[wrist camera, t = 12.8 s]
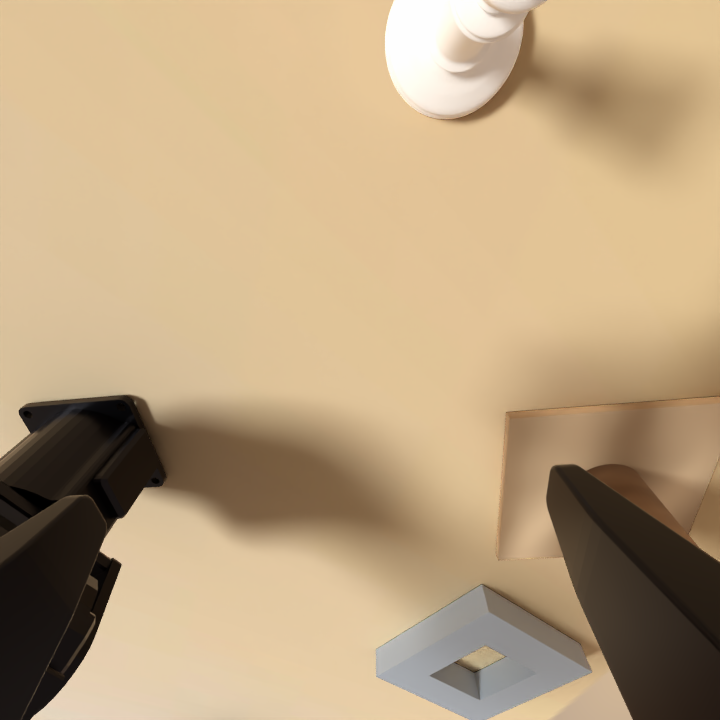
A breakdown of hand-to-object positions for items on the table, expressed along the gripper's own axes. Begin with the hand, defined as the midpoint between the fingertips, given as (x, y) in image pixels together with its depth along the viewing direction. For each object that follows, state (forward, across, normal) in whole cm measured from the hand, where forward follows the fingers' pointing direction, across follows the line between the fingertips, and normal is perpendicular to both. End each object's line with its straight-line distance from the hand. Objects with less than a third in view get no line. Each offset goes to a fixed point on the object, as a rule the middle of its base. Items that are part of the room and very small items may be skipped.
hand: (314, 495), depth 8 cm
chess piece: (+13, -5, -9) cm, 17 cm away
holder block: (+13, -7, +32) cm, 35 cm away
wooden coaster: (+13, -14, +14) cm, 24 cm away
